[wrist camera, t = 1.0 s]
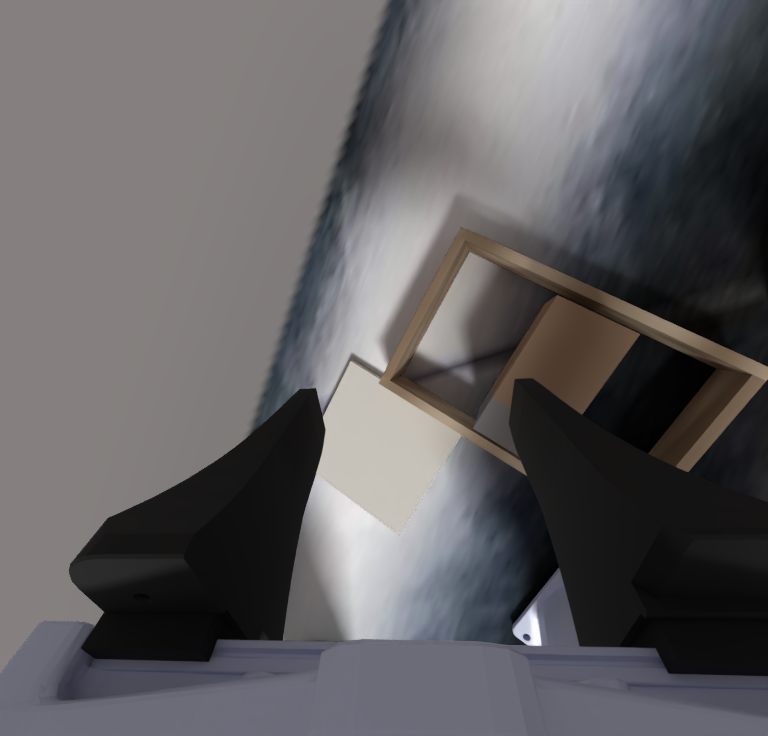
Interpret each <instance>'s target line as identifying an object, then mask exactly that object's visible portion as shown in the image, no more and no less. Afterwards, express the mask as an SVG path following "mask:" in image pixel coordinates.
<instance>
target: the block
mask: <svg viewBox="0 0 768 736" xmlns="http://www.w3.org/2000/svg"><path fill="white" fill-rule="evenodd" d="M639 335H640V334H639V333H637V332H635V331H632V330H630V329H628V328H626V327H624V326H622V325H620V324H618V323H616V322H614V321H611V320H609V319H607V318H605V317H603V316H601V315H599V314H597V313H595V312H593V311H590V310H588V309H586V308H584V307H582V306H580V305H578V304H576V303H574V302H571V301H569V300H567V299H565V298H563V297H561V296H559V295H556V296H555V297H554V298H552V299H551V300H549V301H548V302H546V303H545V304H544V305H543V306H542V307H541V309H540V311H539V312H538V314H537V315H536V317H535V319H534V320H533V322H532V323H531V325H530V327H529V328H528V330H527V331H526V333H525V335H524V336H523V338H522V339H521V341H520V343H519V344H518V346H517V347H516V349H515V351H514V352H513V354H512V355H511V357H510V359H509V360H508V362H507V363H506V365H505V366H504V368H503V370H502V371H501V373H500V374H499V376H498V378H497V379H496V381H495V382H494V384H493V386H492V387H491V389H490V390H489V392H488V394H487V395H486V397H485V398H484V400H483V402H482V403H481V405H480V407H479V410H478V413H477V417H476V420H475V423H474V427H473V429H475V430H476V431H478V432H480V433H481V434H483V435H485V436H486V437H488V438H490V439H491V440H493V441H494V442H496V443H498V444H499V445H501V446H503V447H504V448H506V449H508V450H509V451H511V452H512V453H514V454H516V455H517V456H518V453H517V451H516V448H515V445H514V441H513V438H512V434H511V430H510V427H509V417H510V409H511V402H512V394H513V387H514V379H523V378H533V379H535V380H536V381H537V382H539V383H540V384H541V385H543V386H544V387H545V388H547V389H548V390H549V391H551V392H552V393H553V394H554V395H556V396H557V397H558V398H560V399H561V400H562V401H564V402H565V403H566V404H568V405H569V406H571V407H572V408H573V409H575V410H576V411H577V412H579V413H580V414H583V413H584V412H585V410H586V409H587V407H588V406H589V405H590V403H591V402H592V400H593V399H594V398H595V396H596V395H597V393H598V392H599V391H600V389H601V388H602V387H603V385H604V384H605V382H606V381H607V380H608V378H609V377H610V375H611V374H612V373H613V371H614V370H615V368H616V367H617V366H618V364H619V363H620V362H621V360H622V359H623V357H624V356H625V355H626V353H627V352H628V350H629V349H630V348H631V346H632V345H633V343H634V342H635V341H636V339H637V338H638V337H639Z"/></svg>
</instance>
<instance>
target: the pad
mask: <svg viewBox="0 0 768 736" xmlns="http://www.w3.org/2000/svg"><path fill="white" fill-rule="evenodd" d="M380 380H381V377H380V376H378V375H377V374H375V373H373V372H372V371H370V370H368V369H367V368H365V367H364V366H362V365H360V364H359V363H357V362H355V361H350V363H349V366H348V368H347V370H346V372H345V374H344V376H343V378H342V380H341V382H340V384H339V386H338V388H337V390H336V392H335V394H334V396H333V398H332V400H331V402H330V404H329V406H328V408H327V410H326V412H325V414H324V416H323V420H324V425H325V429H326V432H325V438H324V445H323V450H322V455H321V459H320V462H319V465H318V469H317V472H316V474H317V475H318V476H320V477H321V478H322V479H324V480H325V481H326V482H328V483H329V484H330V485H332V486H333V487H334V488H336V489H337V490H338V491H340V492H341V493H343V494H344V495H345V496H347V497H348V498H349V499H351V500H352V501H353V502H355V503H356V504H357V505H359V506H360V507H361V508H363V509H364V510H365V511H367V512H368V513H370V514H371V515H372V516H374V517H375V518H376V519H378V520H379V521H380V522H382V523H383V524H384V525H386V526H387V527H388V528H390V529H391V530H393V531H394V532H395V533H397V534H398V535H400V533H401V532H402V530H403V529H404V527H405V525H406V524H407V522H408V521H409V519H410V517H411V516H412V514H413V513H414V511H415V510H416V508H417V506H418V505H419V503H420V502H421V500H422V498H423V497H424V495H425V494H426V492H427V490H428V489H429V487H430V486H431V484H432V482H433V481H434V479H435V478H436V476H437V474H438V473H439V471H440V470H441V468H442V466H443V465H444V463H445V462H446V460H447V458H448V457H449V455H450V454H451V452H452V450H453V449H454V447H455V446H456V444H457V442H458V441H459V439H460V438H461V436H462V435H460V434H459V433H457V432H456V431H454V430H452V429H451V428H449V427H448V426H446V425H444V424H443V423H441V422H440V421H438V420H436V419H435V418H433V417H432V416H430V415H428V414H427V413H425V412H424V411H422V410H420V409H419V408H417V407H416V406H414V405H412V404H411V403H409V402H408V401H406V400H404V399H403V398H401V397H399V396H398V395H396V394H395V393H393V392H391V391H390V390H388V389H387V388H385V387H383V386H382V385H380V384H379V381H380Z"/></svg>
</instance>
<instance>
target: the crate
mask: <svg viewBox="0 0 768 736" xmlns="http://www.w3.org/2000/svg"><path fill="white" fill-rule="evenodd" d="M469 252H471V253H473V254H476V255H478V256H480V257H482V258H484V259H486V260H488V261H490V262H492V263H495V264H497V265H499V266H501V267H503V268H505V269H507V270H509V271H511V272H514V273H516V274H518V275H520V276H522V277H524V278H526V279H528V280H530V281H533V282H535V283H537V284H539V285H541V286H543V287H545V288H547V289H549V290H552V291H554V292H556V293H558V294H560V295H562V296H564V297H566V298H568V299H571V300H573V301H575V302H577V303H579V304H581V305H583V306H585V307H587V308H589V309H592V310H594V311H596V312H598V313H600V314H602V315H604V316H606V317H608V318H611V319H613V320H615V321H617V322H619V323H621V324H623V325H625V326H627V327H630V328H632V329H634V330H636V331H638V332H640V333H642V334H644V335H646V336H649V337H651V338H653V339H655V340H657V341H659V342H661V343H663V344H665V345H668V346H670V347H672V348H674V349H676V350H678V351H680V352H682V353H684V354H687V355H689V356H691V357H693V358H695V359H697V360H699V361H701V362H703V363H706V364H708V365H710V366H712V367H714V368H716V370H715V371H714V372H713V374H712V375H711V376H710V377H709V379H708V380H707V381H706V382H705V384H704V385H703V386H702V387H701V389H700V390H699V391H698V392H697V394H696V395H695V396H694V397H693V399H692V400H691V401H690V402H689V404H688V405H687V406H686V407H685V409H684V410H683V411H682V412H681V413H680V415H679V416H678V417H677V418H676V420H675V421H674V422H673V423H672V425H671V426H670V427H669V428H668V430H667V431H666V432H665V433H664V435H663V436H662V437H661V438H660V440H659V441H658V442H657V443H656V445H655V446H654V447H653V448H652V449H651V451H650V452H649V453H648V454H650V455H652V456H654V457H656V458H658V459H660V460H662V461H664V462H666V463H668V464H671V465H673V466H675V467H677V468H679V469H682V470H684V471H686V472H689V471H690V469H691V468H692V467H693V466H694V465H695V463H696V462H697V461H698V460H699V459H700V458H701V456H702V455H703V454H704V453H705V452H706V451H707V449H708V448H709V447H710V446H711V445H712V444H713V442H714V441H715V440H716V439H717V438H718V437H719V435H720V434H721V433H722V432H723V431H724V430H725V428H726V427H727V426H728V425H729V424H730V423H731V421H732V420H733V419H734V418H735V417H736V416H737V414H738V413H739V412H740V411H741V410H742V409H743V407H744V406H745V405H746V404H747V403H748V402H749V400H750V399H751V398H752V397H753V396H754V395H755V393H756V392H757V391H758V390H759V389H760V388H761V386H762V385H763V384H764V383H765V382H766V381H767V379H768V367H767V366H765V365H762V364H760V363H758V362H756V361H754V360H752V359H749V358H747V357H745V356H743V355H741V354H738V353H736V352H734V351H732V350H730V349H727V348H725V347H723V346H721V345H719V344H717V343H714V342H712V341H710V340H708V339H706V338H703V337H701V336H699V335H697V334H695V333H692V332H690V331H688V330H686V329H684V328H682V327H679V326H677V325H675V324H673V323H671V322H668V321H666V320H664V319H662V318H660V317H658V316H655V315H653V314H651V313H649V312H647V311H644V310H642V309H640V308H638V307H636V306H633V305H631V304H629V303H627V302H625V301H623V300H620V299H618V298H616V297H614V296H612V295H609V294H607V293H605V292H603V291H601V290H598V289H596V288H594V287H592V286H590V285H588V284H585V283H583V282H581V281H579V280H577V279H574V278H572V277H570V276H568V275H566V274H563V273H561V272H559V271H557V270H555V269H553V268H550V267H548V266H546V265H544V264H542V263H539V262H537V261H535V260H533V259H531V258H529V257H526V256H524V255H522V254H520V253H518V252H515V251H513V250H511V249H509V248H507V247H504V246H502V245H500V244H498V243H496V242H494V241H491V240H489V239H487V238H485V237H483V236H480V235H478V234H476V233H474V232H472V231H469V230H467V229H465V228H463V227H461V228H460V230H459V232H458V234H457V236H456V237H455V239H454V241H453V243H452V245H451V247H450V249H449V251H448V253H447V255H446V256H445V258H444V260H443V262H442V264H441V266H440V268H439V270H438V272H437V273H436V275H435V277H434V279H433V281H432V283H431V285H430V287H429V289H428V291H427V292H426V294H425V296H424V298H423V300H422V302H421V304H420V306H419V308H418V309H417V311H416V313H415V315H414V317H413V319H412V321H411V323H410V325H409V327H408V328H407V330H406V332H405V334H404V336H403V338H402V340H401V342H400V344H399V345H398V347H397V349H396V351H395V353H394V355H393V357H392V359H391V361H390V362H389V364H388V366H387V368H386V370H385V372H384V374H383V376H382V378H381V380H380V381H379V384H380V385H382V386H383V387H385V388H387V389H388V390H390V391H391V392H393V393H395V394H396V395H398V396H399V397H401V398H403V399H404V400H406V401H408V402H409V403H411V404H412V405H414V406H416V407H417V408H419V409H420V410H422V411H424V412H425V413H427V414H428V415H430V416H432V417H433V418H435V419H436V420H438V421H440V422H441V423H443V424H444V425H446V426H448V427H449V428H451V429H452V430H454V431H456V432H457V433H459V434H460V435H462V436H464V437H465V438H467V439H468V440H470V441H472V442H473V443H475V444H476V445H478V446H480V447H481V448H483V449H485V450H486V451H488V452H489V453H491V454H493V455H494V456H496V457H497V458H499V459H501V460H502V461H504V462H505V463H507V464H509V465H510V466H512V467H513V468H515V469H517V470H518V471H520V472H521V473H523V474H525V475H526V476H527V474H526V472H525V470H524V467H523V465H522V463H521V460H520V458H519V456H517V455H516V454H514V453H512V452H511V451H509V450H508V449H506V448H504V447H503V446H501V445H499V444H498V443H496V442H494V441H493V440H491V439H490V438H488V437H486V436H485V435H483V434H481V433H480V432H478V431H476V430H475V429H473V427H474V423H475V419H473V418H472V417H470V416H468V415H467V414H465V413H463V412H462V411H460V410H459V409H457V408H455V407H454V406H452V405H450V404H449V403H447V402H445V401H444V400H442V399H440V398H439V397H437V396H435V395H434V394H432V393H430V392H429V391H427V390H425V389H424V388H422V387H420V386H419V385H417V384H415V383H414V382H412V381H411V380H409V379H407V378H406V377H404V376H402V374H403V373H404V371H405V369H406V367H407V365H408V363H409V362H410V360H411V358H412V356H413V354H414V352H415V351H416V349H417V347H418V345H419V343H420V341H421V340H422V338H423V336H424V334H425V332H426V330H427V329H428V327H429V325H430V323H431V321H432V319H433V318H434V316H435V314H436V312H437V310H438V308H439V306H440V305H441V303H442V301H443V299H444V297H445V295H446V294H447V292H448V290H449V288H450V286H451V284H452V283H453V281H454V279H455V277H456V275H457V273H458V272H459V270H460V268H461V266H462V264H463V262H464V261H465V259H466V257H467V255H468V253H469Z"/></svg>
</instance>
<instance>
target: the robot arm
mask: <svg viewBox="0 0 768 736" xmlns="http://www.w3.org/2000/svg"><path fill="white" fill-rule="evenodd" d="M509 427H510V430H511V434H512V438H513V441H514V445H515V448H516V451H517V453H518V456H519V458H520V460H521V463H522V465H523V467H524V470H525V472H526V474H527V477H528V479H529V481H530V484H531V486H532V488H533V491H534V493H535V495H536V498H537V500H538V502H539V505H540V507H541V510H542V513H543V515H544V518H545V522H546V525H547V528H548V531H549V535H550V538H551V541H552V544H553V548H554V551H555V555H556V558H557V562H558V565H559V568H558V569H557V571H556V572H555V573H554V574H553V575H552V577H551V578H550V579H549V580H548V582H547V583H546V584H545V585H544V587H543V588H542V589H541V590H540V592H539V593H538V594H537V595H536V597H535V598H534V599H533V600H532V601H531V603H530V604H529V605H528V606H527V608H526V609H525V610H524V611H523V613H522V614H521V615H520V616H519V618H518V619H517V620H516V621H515V623H514V624H513V633H514V635H515V636H516V637H517V638H519V639H520V640H521V641H523V642H524V643H525V644H527V645H528V646H525V645H502V644H495V643H487V642H478V641H425V640H372V639H361V640H351V641H341V642H320V641H283V633H284V626H285V618H286V611H287V604H288V597H289V591H290V584H291V578H292V572H293V566H294V561H295V555H296V549H297V544H298V539H299V534H300V529H301V524H302V519H303V515H304V511H305V507H306V504H307V501H308V498H309V494H310V491H311V488H312V485H313V482H314V478H315V475H316V472H317V469H318V465H319V462H320V459H321V455H322V450H323V445H324V438H325V432H326V429H325V425H324V420H323V416H322V412H321V408H320V404H319V399H318V395H317V391H316V388H312V389H300V390H298V391H297V392H296V393H295V394H294V395H293V396H292V397H291V398H290V399H289V400H288V401H287V402H286V403H285V404H284V405H283V406H282V407H281V408H280V409H279V410H277V411H276V412H275V413H274V414H273V415H272V416H271V417H270V418H269V419H268V420H267V421H266V422H265V423H264V424H262V425H261V426H260V427H259V428H258V429H257V430H255V431H254V432H253V433H252V434H251V435H250V436H248V437H247V438H246V439H245V440H244V441H242V442H241V443H240V444H239V445H237V446H236V447H235V448H234V449H232V450H231V451H229V452H228V453H227V454H225V455H224V456H223V457H221V458H219V459H218V460H217V461H215V462H214V463H212V464H210V465H209V466H207V467H206V468H204V469H202V470H201V471H199V472H198V473H196V474H195V475H193V476H191V477H190V478H188V479H186V480H185V481H183V482H181V483H179V484H177V485H176V486H174V487H172V488H170V489H168V490H166V491H164V492H162V493H161V494H159V495H157V496H155V497H153V498H151V499H149V500H147V501H144V502H143V503H140V504H138V505H136V506H134V507H132V508H129V509H127V510H125V511H123V512H121V513H118V514H116V515H114V516H112V517H109V518H108V519H107V520H106V521H105V522H104V523H103V525H102V526H101V527H100V528H99V530H98V531H97V532H96V533H95V534H94V536H93V537H92V538H91V539H90V541H89V542H88V543H87V545H86V546H85V547H84V548H83V549H82V550H81V552H80V553H79V554H78V555H77V557H76V558H75V559H74V560H73V562H72V563H71V564H70V568H69V574H70V577H71V580H72V582H73V583H74V584H75V585H76V586H77V587H78V588H79V590H81V591H82V592H83V593H84V594H85V595H86V596H87V597H88V598H89V599H91V600H92V601H93V602H94V603H95V604H96V605H97V606H98V607H99V608H101V609H102V610H103V611H104V613H103V615H102V617H101V618H100V620H99V621H98V623H97V624H96V626H94V625H92V624H89V623H86V622H72V621H70V622H69V621H67V622H65V621H44V622H41V623H39V624H38V625H37V627H36V628H35V629H34V631H33V632H32V633H31V635H30V636H29V637H28V638H27V640H26V641H25V642H24V643H23V645H22V646H21V647H20V649H19V650H18V651H17V653H16V654H15V655H14V656H13V657H12V659H11V660H10V661H9V663H8V664H7V665H6V666H5V668H4V669H3V670H2V672H1V673H0V736H768V502H766V501H763V500H760V499H757V498H754V497H751V496H748V495H745V494H743V493H740V492H737V491H734V490H731V489H728V488H726V487H723V486H721V485H718V484H716V483H713V482H711V481H708V480H706V479H703V478H701V477H698V476H696V475H693V474H691V473H689V472H686V471H684V470H682V469H679V468H677V467H675V466H673V465H671V464H668V463H666V462H664V461H662V460H660V459H658V458H656V457H654V456H652V455H650V454H648V453H646V452H644V451H642V450H640V449H638V448H636V447H634V446H632V445H631V444H629V443H627V442H625V441H623V440H622V439H620V438H618V437H616V436H614V435H613V434H611V433H609V432H608V431H606V430H605V429H603V428H601V427H600V426H598V425H597V424H595V423H594V422H592V421H591V420H589V419H588V418H586V417H585V416H583V415H582V414H580V413H579V412H577V411H576V410H575V409H573V408H572V407H571V406H569V405H568V404H566V403H565V402H564V401H562V400H561V399H560V398H558V397H557V396H556V395H554V394H553V393H552V392H551V391H549V390H548V389H547V388H545V387H544V386H543V385H541V384H540V383H539V382H537V381H536V380H535V379H533V378H523V379H514V387H513V394H512V402H511V409H510V417H509ZM524 634H528V635H529V636H525V635H524Z"/></svg>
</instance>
